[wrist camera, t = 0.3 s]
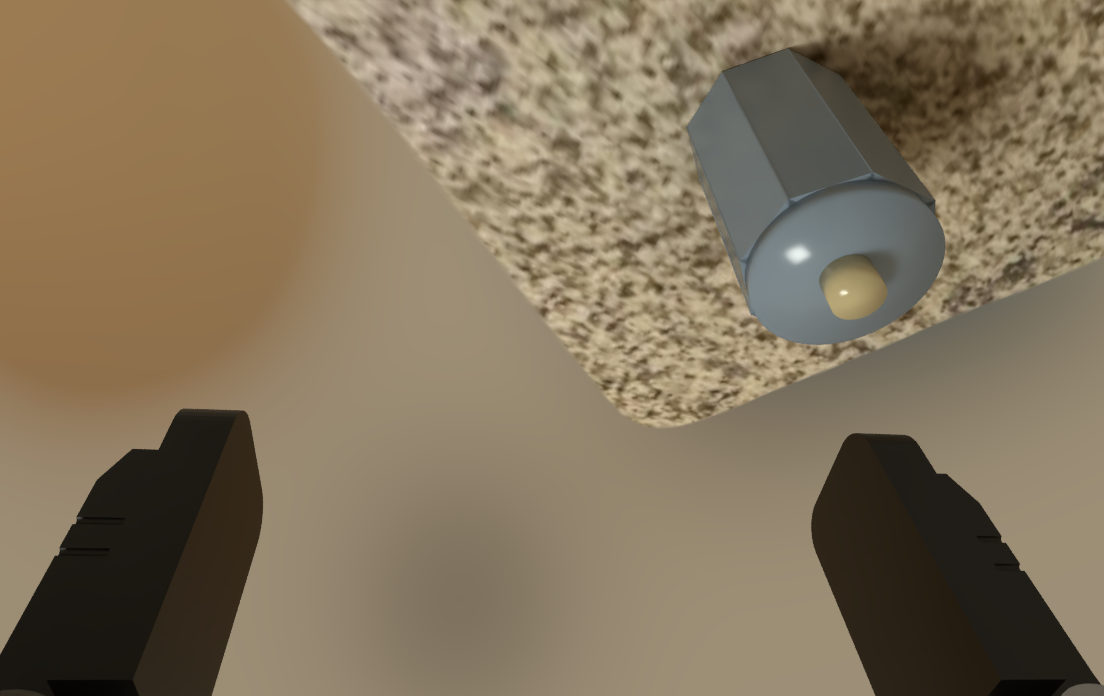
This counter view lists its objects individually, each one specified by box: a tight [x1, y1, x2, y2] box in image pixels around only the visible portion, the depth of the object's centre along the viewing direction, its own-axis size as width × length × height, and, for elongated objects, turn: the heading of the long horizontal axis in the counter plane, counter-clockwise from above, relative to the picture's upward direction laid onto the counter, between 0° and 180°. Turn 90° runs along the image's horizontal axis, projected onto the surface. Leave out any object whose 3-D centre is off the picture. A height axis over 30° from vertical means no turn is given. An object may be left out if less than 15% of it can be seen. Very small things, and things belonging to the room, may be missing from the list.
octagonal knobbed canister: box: [686, 48, 945, 345], centre depth 29 cm, size 6×6×11 cm
